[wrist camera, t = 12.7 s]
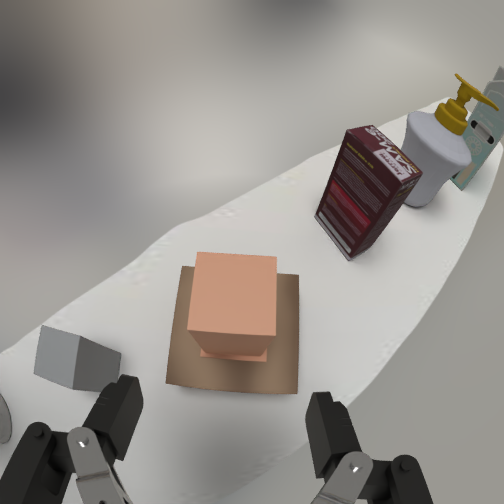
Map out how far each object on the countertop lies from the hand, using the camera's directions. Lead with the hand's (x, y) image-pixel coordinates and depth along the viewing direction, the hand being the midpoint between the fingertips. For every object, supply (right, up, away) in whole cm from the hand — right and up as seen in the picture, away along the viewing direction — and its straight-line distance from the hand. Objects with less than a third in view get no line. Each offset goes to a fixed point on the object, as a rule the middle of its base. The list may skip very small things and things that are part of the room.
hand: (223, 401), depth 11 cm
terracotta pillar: (0, 0, +14) cm, 14 cm away
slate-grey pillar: (-17, -7, +16) cm, 25 cm away
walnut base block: (-1, -3, +19) cm, 20 cm away
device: (+52, +27, +39) cm, 71 cm away
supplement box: (+14, +10, +27) cm, 32 cm away
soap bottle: (+30, +18, +33) cm, 48 cm away
